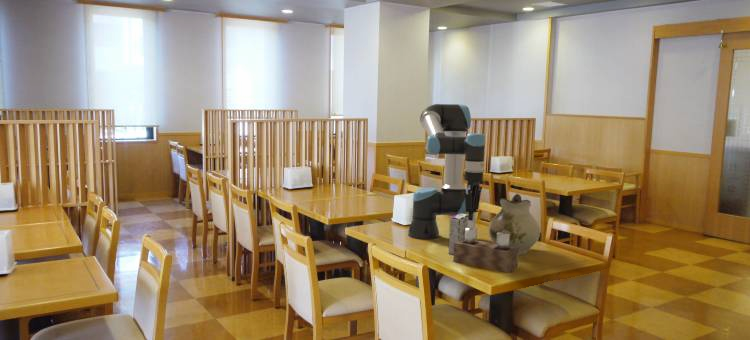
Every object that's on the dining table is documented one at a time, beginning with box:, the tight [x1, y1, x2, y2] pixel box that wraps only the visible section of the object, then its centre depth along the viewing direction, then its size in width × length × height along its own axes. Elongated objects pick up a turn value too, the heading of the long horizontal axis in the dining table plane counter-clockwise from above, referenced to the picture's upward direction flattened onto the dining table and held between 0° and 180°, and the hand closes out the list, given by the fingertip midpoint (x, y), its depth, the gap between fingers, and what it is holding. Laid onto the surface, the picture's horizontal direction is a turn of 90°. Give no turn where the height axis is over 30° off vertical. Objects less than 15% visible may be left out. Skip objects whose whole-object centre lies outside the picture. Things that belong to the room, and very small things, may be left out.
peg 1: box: [464, 227, 478, 245], centre depth 237 cm, size 5×5×8 cm
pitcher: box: [488, 193, 541, 256], centre depth 256 cm, size 22×24×25 cm
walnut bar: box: [452, 238, 519, 273], centre depth 234 cm, size 24×10×8 cm, turn 56°
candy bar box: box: [448, 213, 468, 256], centre depth 252 cm, size 11×5×16 cm, turn 148°
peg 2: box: [496, 232, 510, 251], centre depth 230 cm, size 5×5×8 cm
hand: (471, 227), depth 237 cm, fingers closed
